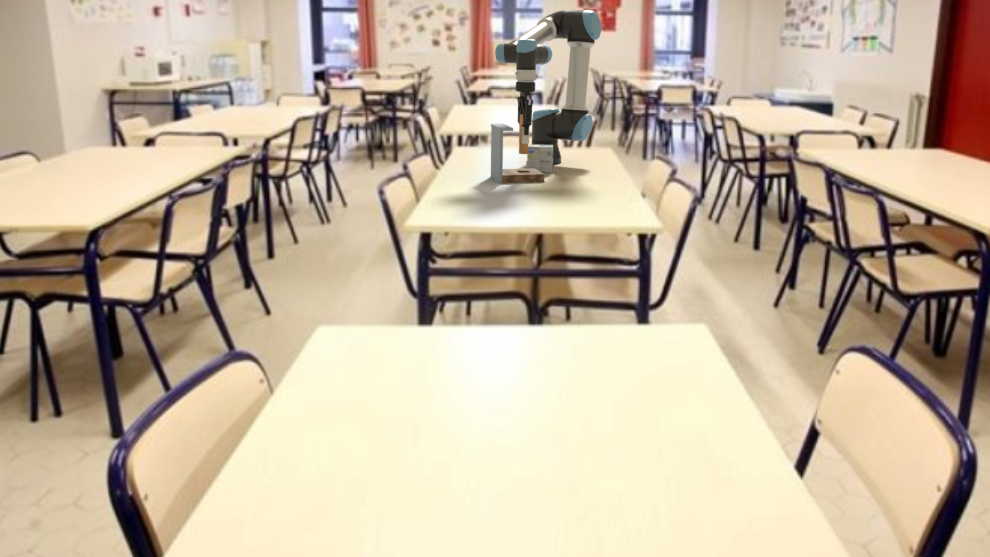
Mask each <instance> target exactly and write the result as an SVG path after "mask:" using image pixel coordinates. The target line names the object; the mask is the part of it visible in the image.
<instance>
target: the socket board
mask: <svg viewBox="0 0 990 557" xmlns="http://www.w3.org/2000/svg"><path fill="white" fill-rule="evenodd" d="M514 183H515V184H517V183H520V184H522V183H545V173H544V172H540V171H538V170H536V169H535V168H527V167H526V168H503V172H502V183H501V184H514Z"/></svg>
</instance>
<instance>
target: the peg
mask: <svg viewBox="0 0 990 557" xmlns="http://www.w3.org/2000/svg"><path fill="white" fill-rule="evenodd" d="M521 125H523V114H520V130H519V129H518V130H519V131H518V155H527V154H528V145H529V143H527V144H522V126H521Z"/></svg>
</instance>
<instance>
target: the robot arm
mask: <svg viewBox="0 0 990 557" xmlns="http://www.w3.org/2000/svg"><path fill="white" fill-rule="evenodd" d="M601 23H602V22H601V18H600V17H599V15H598V13H597V12H596V11H594V10H586V9H583V10H582V9H581V10H573V9H571V10H568V9H566V10H565V9H564V10H559V11H555V12H553V13H550V14H548V15H546V16H544V17H543V18H541V19H540V20H538V22H537V23H536V25H535V26H533V27H532V28H530V29H529V30H527V31H525V32H524V33H522V34H521V35H519V36H517V37H516V38H514V39H513V40H511V41H510V42H509V43H505V42H504V43H498V44H497V46H496V47H495V50H494V56H495V59H496V60H495V61H497V62H498V63H501V64H505V65H507V64H514V65H515V64H516V65H515V66H516V68H515V69H516V70H515V72H514V75H515V80H516V82H515V91H516V92H517V93H519V96H518V97H517V123H518V125H519V126H518V127H519V129H518V130H520V114H523V125H521V126H522V144H527V143H528V144H530V128H531V144H530V145H553V165H555V164H560V163H562V155H561V152H560V151H561V150H560V147H559V140H562V141H563V140H564V141H573V142H577V141H578V142H583V141H586V140H587V139H588V137H590V134H591V133H592V129H593V125H594V124H593V123H594V121H593V116H592V114H589V108H588V107H587V105H586V104H587V103H586V102H587V92H588V82H589V81H588V80H589V69H590V68H589V67H590V58H591V48H592V47H593V46H595V41H596V40H597V41H598V40H599V38H600V37H601V33H602V24H601ZM555 39H560V40H561V39H563V40H566V41H567V42H566V43H567V45H568V46H569V48H570V50H569V59H568V60H569V61H568V73H567V83H566V95H565V104H564V105H563V106H562V107H561V112H560V109H559V108H547V109H546V108H545V109H537V110H535V111H533V103H534V100H533V99H532V95H531V93H534V92H536V78H537V68H536V67H537V65H539V66H540V65H541V66H542V65H546V64H548V63H550V61H551V60H552V58H553V51H552V49H551V47H550V46H549V45H546V44H544V43H545V42H551V41H553V40H555ZM530 126H531V127H530Z"/></svg>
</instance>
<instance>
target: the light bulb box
mask: <svg viewBox="0 0 990 557" xmlns="http://www.w3.org/2000/svg"><path fill="white" fill-rule="evenodd" d="M526 156H527V157H526V158H527V159H526V160H527V162H526V168H535V169H536V170H538V171H540V172H542V173H549V174H550V173H553V171H554V170H553V168H554V164H553V145H531V144H528V154H526Z"/></svg>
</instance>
